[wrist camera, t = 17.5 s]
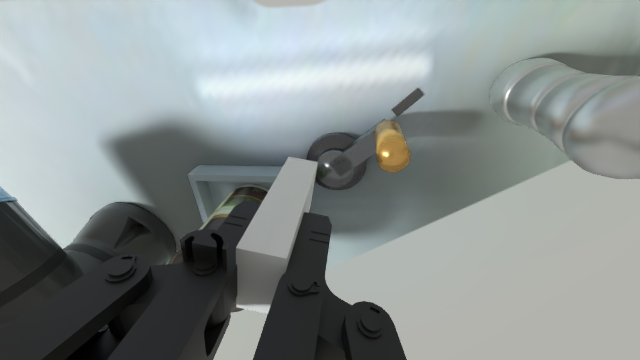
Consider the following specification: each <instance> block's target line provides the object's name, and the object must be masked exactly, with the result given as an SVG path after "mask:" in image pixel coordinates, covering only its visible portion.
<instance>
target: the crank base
mask: <svg viewBox="0 0 640 360" xmlns="http://www.w3.org/2000/svg"><path fill="white" fill-rule="evenodd" d="M355 140H356V139H354V138H353V137H351V136H349V135H347V134H343V133H329V134H326V135H323V136H321V137H320V138H318V139H317V140H316V141H315V142H314V143H313V144H312V146H311V148H310V150H309V152H308V155H307V160H310V161H315V162H317V160H318V158H319V156H320V154H321V153H322V152H323V151H325V150H327V149H329V148H341V149H344V148H345V147H347V146H348V145H349V144H351V143H352V142H353V141H355ZM365 169H366V160H365V161H363V162H362V163H360V164H359V165H357V166H356V167H354V175H353V178H352V179H351V181H350V182H349V183H347V184H346V185H344V186H341V187H330V186H327V185H325V184H324V183H322V182H321V181H320V180H319V179H318V177H317V175H316V177H315V181H316V182H317V183H318V184H319V185H321V186H323V187H325V188H328V189H332V190H343V189H347V188H350V187H352V186H354V185H355V184H356V183H358V182H359V181H360V179H361V178H362V177H363V175H364V173H365Z"/></svg>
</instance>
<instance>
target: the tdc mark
mask: <svg viewBox="0 0 640 360" xmlns="http://www.w3.org/2000/svg"><path fill="white" fill-rule="evenodd" d="M421 96H422V94H421V92H420V91H419V90H418V89H416V90H415V91H414V92H412V93H411V94H410V95H409V96H408V97H406V98H405V99H404V100H403V101H402V102H400V103H399V104H398V105H397V106H396V107H394V108H393V109H392V111H393V112H394V113H395V114H396V115H397V116H398V115H399V114H400V113H402V112H403V111H404V110H405V109H407V108H408V107H409V106H410V105H411V104H413V103H414V102H415V101H416V100H418V99H419V98H420V97H421Z"/></svg>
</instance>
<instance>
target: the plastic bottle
mask: <svg viewBox="0 0 640 360" xmlns="http://www.w3.org/2000/svg"><path fill="white" fill-rule="evenodd" d="M490 104H491V106H492V108H493V110H494V111H495V113H496V114H497V115H498V116H499V117H500V118H501V119H503V120H505V121H507V122H509V123H513V124H516V125H521V126H525V127H528V128H530V129H533V130H535V131H537V132H539V133H540V134H542V135H543V136H545V137H546V138H547V139H549V140H550V141H552V142H553V143H554V144H555V145H556V146H557V147H558V148H559V149H560V150H561V151H562V152H563V153H564V154H565V155H566V156H567V157H569V159H570V160H572V161H573V162H574V163H576V164H577V165H578V166H580V167H581V168H582V169H584V170H586V171H588V172H590V173H593V174H597V175H601V176H605V177H611V178H616V179H640V75H630V76H612V75H603V74H593V73H585V72H582V71H579V70H576V69H573V68H570V67H569V66H567V65H566V64H563V63H561V62H559V61H556V60H554V59H550V58H533V59H527V60H523V61H520V62H517V63H515V64H513V65H511V66H509V67H508V68H507V69H505V70H504V71H503V72H502V73H501V74H500V75H499V76H498V77H497V79H496V80H495V81H494V83H493V85H492V87H491V91H490Z"/></svg>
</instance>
